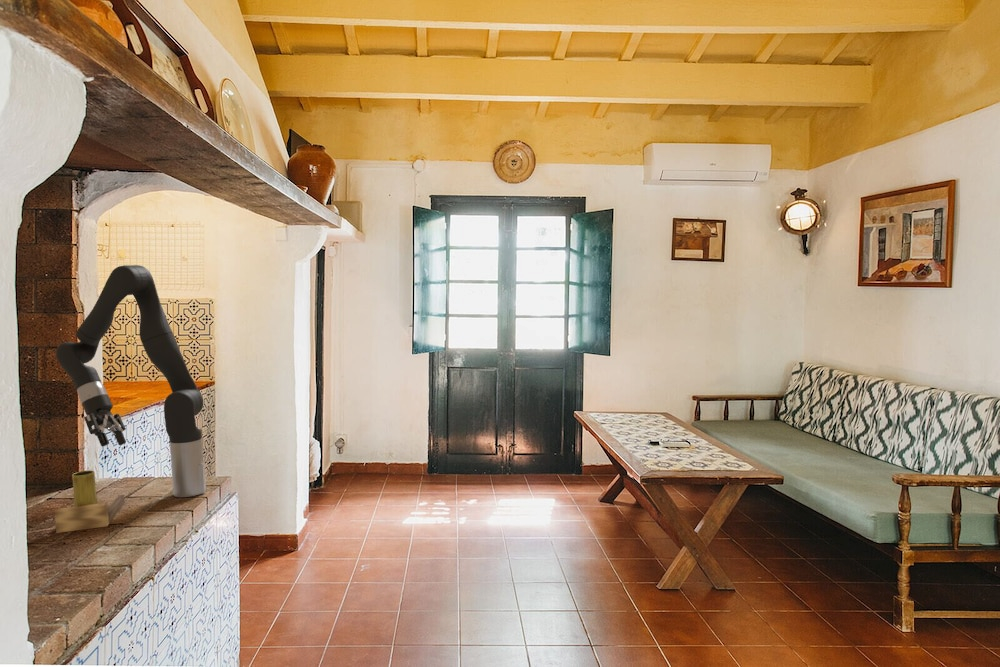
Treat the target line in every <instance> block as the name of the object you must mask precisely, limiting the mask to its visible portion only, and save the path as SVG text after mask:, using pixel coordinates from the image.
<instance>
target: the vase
mask: <svg viewBox="0 0 1000 667" xmlns="http://www.w3.org/2000/svg"><path fill="white" fill-rule="evenodd" d="M95 474H96V473H95V471H94V470H88V469H87V470H81V471H78V472H75V473H72V475H71V478H72V489H73V490H72V491H73V506H74V507H76V506H85V505H93V504H98V498H97V487H96V476H95Z"/></svg>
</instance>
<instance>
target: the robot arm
mask: <svg viewBox="0 0 1000 667" xmlns="http://www.w3.org/2000/svg"><path fill="white" fill-rule="evenodd" d="M127 296H133V298H134V300H135V302H136V304H137V307H138V309H139V313H140V314H139V315H140V316H139V318H140V320H139V339H140V342H141V345H142V346H143V348H144V351H145V354H146V355H147V357H148V359H149V360H150V362H151V363H152V364H153V365H154V366H155V367H156V368H157V370H159V371H160V373H161V374H162V376H164V377H165V379H166V381H167V382H168V383H167V384H169V387H170V390H171V393H170V394H168V395H167V397H166V398H165V400H164V402H163V403H164V404H163V415H164V424H165V430H166V433H167V435H168V439H169V450H170V462H171V463H170V464H171V477H172V493H173V497H175V498H187V497H188V498H189V497H194V496H198V495H202V494H203V495H204V494H205V493H206V490H207V482H206V466H205V465H206V464H205V459H204V448H203V435H202V430H201V428H198V427H197V424H196V415H197V416H198V414H200V412H201V411H202V410H203V409H204V408H203V407H204V398H203V395H202V392H200V389H199V388H198V386H197V384H196V382H195V381H194V379H193V377H192V375H191V374H190V371H189V369H188V367H187V364H186V361H185V359H184V357H183V354H182V352H181V350H180V347H179V344H178V342H177V339H176V337H175V334H174V333H173V330H172V328H171V326H170V324H169V321H168V319H167V316H166V314H165V312H164V308H163V306H162V304H161V301H160V298H159V294H158V290H157V287H156V284H155V281H154V278H153V276H152V274H151V272H150V270H148V268H147V267H145V266H143V265H139V264H138V265H137V264H134V265H128V264H127V265H119V266H117V267H115V268H114V269H113V270H112V271H111V273H110V274H109V276H108V278H107V280H106V281H105V284H104V287H103V288H102V291H101V292H100V294H99V297H98V298H97V300H96V301H95V302H96V303H95V304H94V306H93V308H92V309H91V311H90V312H89V314H88V315H87V316H86V318H85V319H84V320H83V321H82V323H81V324H80V326H79V327H78V329H76V332H75V336H76V338H77V339H78V340H79V341H75V342H74V341H71V342H69V341H66V342H63V343H60V344H59V345H58V346H56V350H55V358H56V360H57V362H58V364H59V365H60V367H61V368H62V369H63V370H64V371H65V372H66V374H67V375H68V376H69V377H70V378H71V380H72V382H73V385H74V386H75V389H76V392H77V395H78V399H79V401H80V404H81V406H82V408H83V410H84V412H85V416H84V421H85V424H86V426H87V429H88V432H89V434H90V435H94V436H95V437H97V439H98V442H99V444H100V446H101V447H105V446H107V445H109V444H110V441H109V439H108V437H107V434H106V432H105V430H107V431H109V432H111V433H113V435H114V438H115V440H116V443H117V444H118V446H123V445H124V444H126V442H127V441H126V438H125V435H124V434H123V432H125V431H126V429H127V428H126V426H125V424H124V422H123V420H122V419H121V418H122V417H121V415H120V414H119V413H115V414H113V413H112V412H111V410H112V409H113V407H114V405H113V403H112V401H111V398H110V397H109V394H108V392H107V389H106V387H105V386H104V384H103V382H102V380H101V378H100V376H99V374H98V373H99V372H98V371H97V369H96V368H95V367H93V366H90V365H86V364H87V363H89V362H91V361H92V360H93V359H94V358H95V355H96V353H97V350H98V348H99V345H100V342H101V340H102V339H103V337H104V336H105V335H106V333H108V331H109V329H110V327H111V326H112V325H113V321H114V315H115V311H116V308H117V307H118V305H120V303H121V302H122V301H123V300H124V299H125V298H127Z"/></svg>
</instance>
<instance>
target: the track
mask: <svg viewBox="0 0 1000 667" xmlns="http://www.w3.org/2000/svg"><path fill="white" fill-rule="evenodd" d="M125 502H126V501H125V494H118V495H117V497H116V498H114V500H113V501H112V503H111V504H110V505H109V504H108V502H101V503H97V504H93V505H85V506H76V507H74V505H72V506H70V507H61V508H56V509H55V510H54V519H55V520H54V521H55V532H56V534H58V533H66V532H67V533H68V532H72V531H82V530H88V529H95V528H103V527H108V526H109V524H110V523H112V520H113V519H114V518H115V516H116V515H117V513H118V512H119V511H120V510H121V509H122V507H123V506H124V504H126V503H125ZM108 505H109V506H108Z"/></svg>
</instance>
